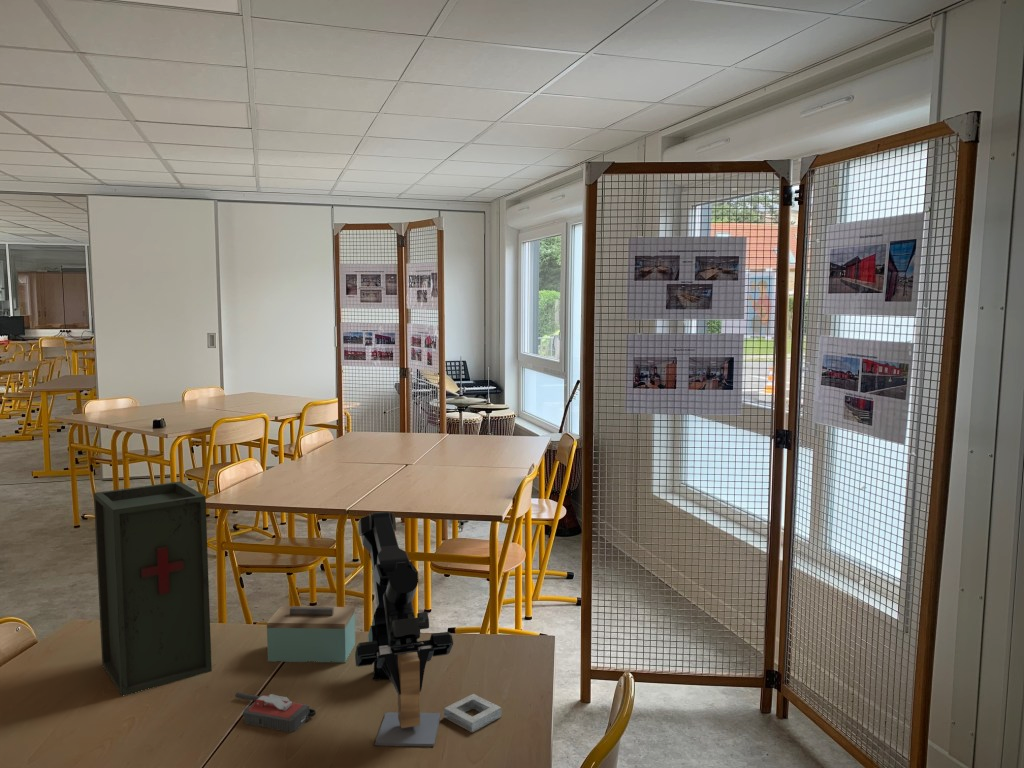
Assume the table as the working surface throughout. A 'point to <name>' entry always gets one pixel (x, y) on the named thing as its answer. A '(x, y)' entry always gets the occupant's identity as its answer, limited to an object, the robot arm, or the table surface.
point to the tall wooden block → (409, 690)
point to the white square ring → (486, 716)
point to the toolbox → (311, 634)
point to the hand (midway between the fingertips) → (409, 692)
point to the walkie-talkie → (275, 712)
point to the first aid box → (153, 584)
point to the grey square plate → (408, 731)
